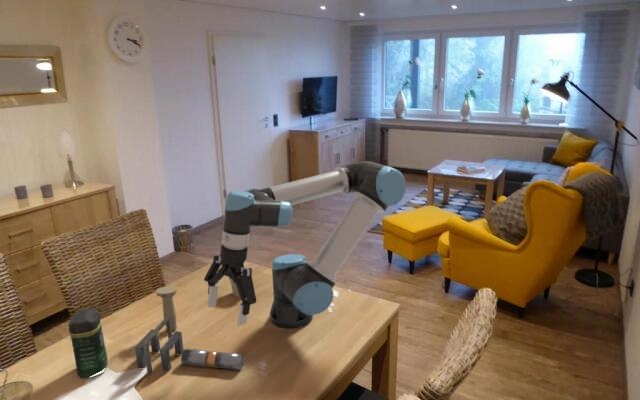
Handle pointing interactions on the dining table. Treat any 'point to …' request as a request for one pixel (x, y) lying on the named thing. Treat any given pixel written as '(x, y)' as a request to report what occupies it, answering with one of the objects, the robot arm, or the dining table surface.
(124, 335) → the dining table surface
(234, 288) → the flower pot
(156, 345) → the collar
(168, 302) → the handle
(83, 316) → the coffee jar
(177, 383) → the dining table surface
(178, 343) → the dark grey arch
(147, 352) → the frame
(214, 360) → the tube
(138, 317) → the dining table surface
